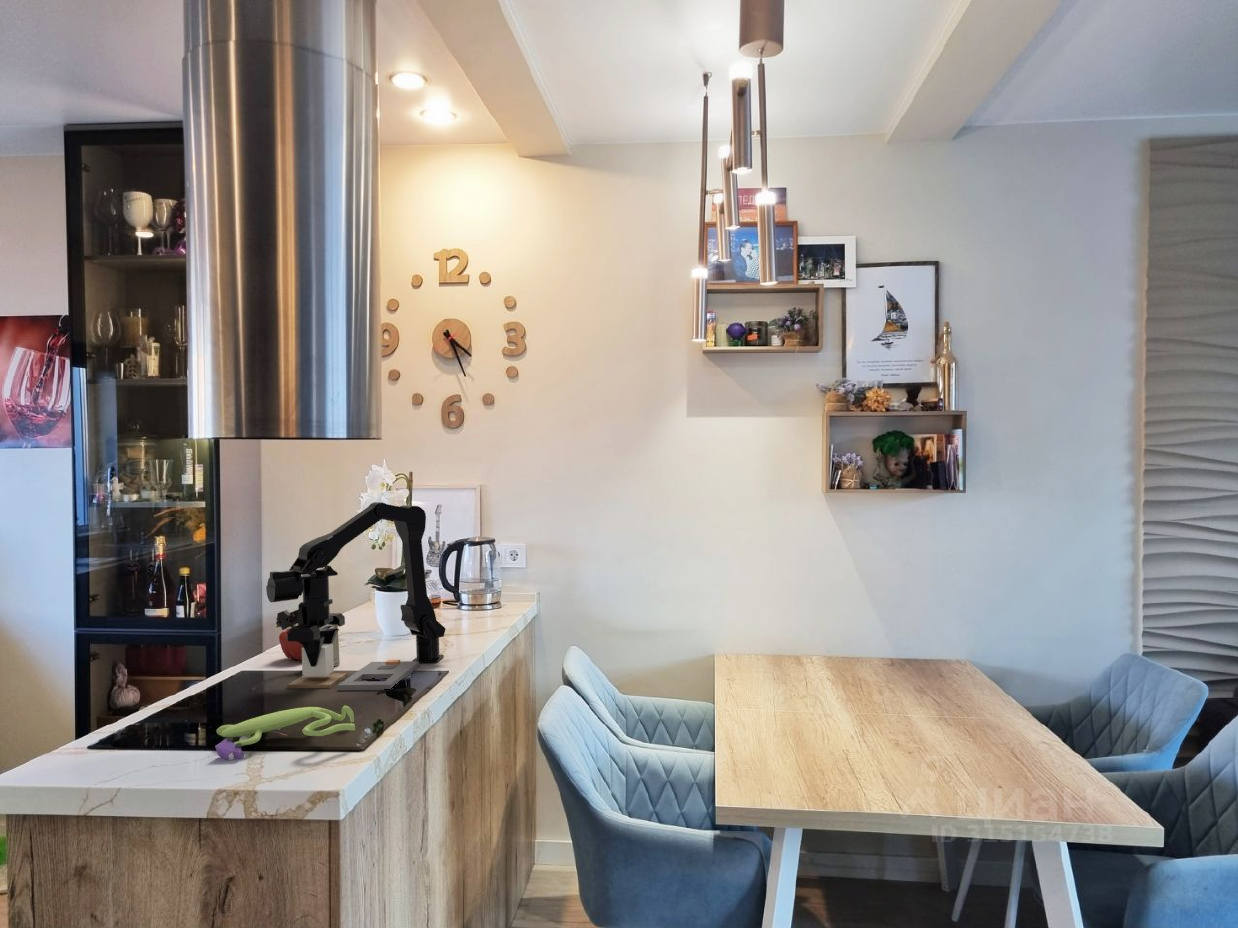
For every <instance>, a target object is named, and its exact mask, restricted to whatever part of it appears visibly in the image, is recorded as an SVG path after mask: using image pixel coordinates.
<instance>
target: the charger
mask: <svg viewBox="0 0 1238 928" xmlns="http://www.w3.org/2000/svg"><path fill="white" fill-rule="evenodd" d="M301 665H302V668H301V671H302V672H301V673H302V676H327V675H329V674H330V673H334V672H335V669H334V667H335V666H334V661H333V644H322V647H321V651H320V655H319V658H318V662H317V665H316V666H315V667H311V665H310V662H309V660H308V657H307V654H306V652H305V649H304V647H303V648H302V660H301Z"/></svg>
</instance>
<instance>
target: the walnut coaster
mask: <svg viewBox="0 0 1238 928" xmlns="http://www.w3.org/2000/svg"><path fill="white" fill-rule="evenodd" d="M348 675H349V674H348V672H332V673H330V674H329V675H327V676H303V675H301V676H299V677H298V678H296V679H295V680H293V681H291V682H290V683H288V684H287V685H286V689H331V688H332V687H334V686H337V685H338V684H340V683H341V681H342V682H343V681H344V680H346V679H347V678H348V677H349V676H348Z"/></svg>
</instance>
